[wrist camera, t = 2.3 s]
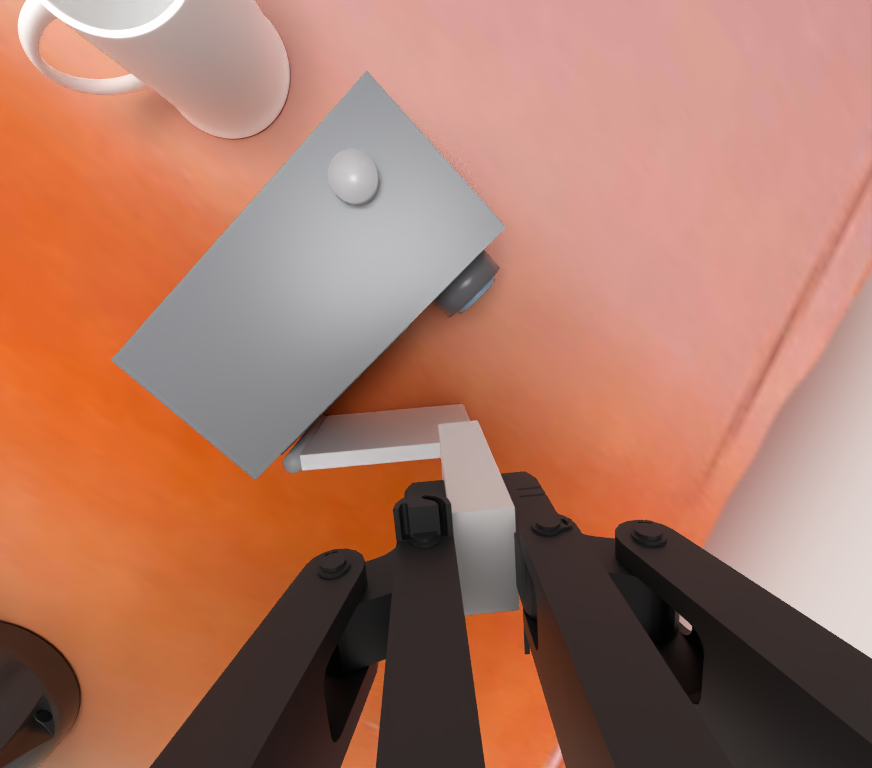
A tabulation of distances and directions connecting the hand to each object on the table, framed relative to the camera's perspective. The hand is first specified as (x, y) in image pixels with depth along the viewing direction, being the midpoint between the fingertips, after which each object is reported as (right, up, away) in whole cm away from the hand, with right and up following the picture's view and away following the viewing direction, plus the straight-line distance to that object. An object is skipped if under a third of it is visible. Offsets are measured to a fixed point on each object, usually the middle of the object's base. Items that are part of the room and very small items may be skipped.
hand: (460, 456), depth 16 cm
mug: (-17, +23, +13) cm, 32 cm away
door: (-5, 0, +19) cm, 19 cm away
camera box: (-8, +10, +16) cm, 21 cm away
